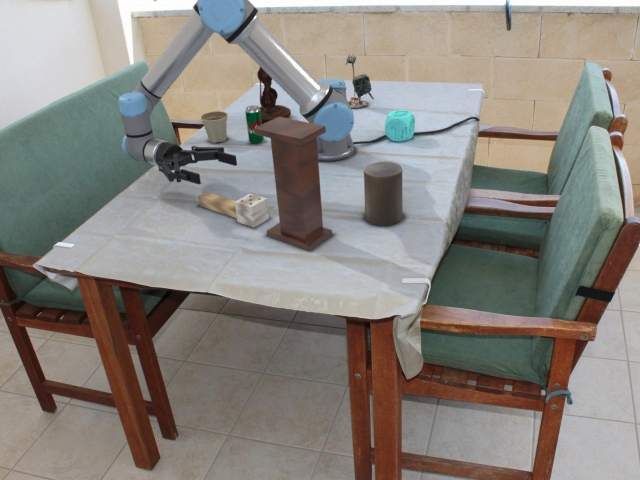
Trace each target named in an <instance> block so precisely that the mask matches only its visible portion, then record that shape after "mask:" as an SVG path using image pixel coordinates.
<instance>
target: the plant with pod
mask: <svg viewBox="0 0 640 480" xmlns="http://www.w3.org/2000/svg"><path fill="white" fill-rule="evenodd" d="M345 61H346V62H345V65H346V66H347V65H348V64H351V67H352V81H351V82H352V85H353V92H354V94H353V95H354V96H353V97H350V100H349V101H348V103H349V106H350V108H351V109H352V108H356V109H358V108H362V107H367V106H368V104H367V101H365V100H361V99H362V98H361V97H363V96H364V95H369V97H370V98H371V99H372V100H375V97H374V96H373V95H372V94H371V91H372V84H371V79H370V77H369V76H370V75H368V74H367V73H361V74H357V75H356V76H355V65H354V64H356V61H357V55H356V54H353V53H352V52H351V53H348V55H347V58H346V60H345ZM356 96H357V97H356Z"/></svg>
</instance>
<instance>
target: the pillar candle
mask: <svg viewBox="0 0 640 480" xmlns="http://www.w3.org/2000/svg"><path fill="white" fill-rule="evenodd" d="M363 185H364V186H363V187H364V189H363V190H364V217H365V220H366V221H367V222H368V223H370V225H373V226H379V227H380V226H382V227H384V226H394V225H396V224H398V223H399V222H401V221H402V220H403V215H404V214H403V167H402V165H401V164H399V163H397V162H394V161H376V162H372V163H369V164H366V165H365V166H364V168H363Z"/></svg>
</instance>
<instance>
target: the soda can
mask: <svg viewBox="0 0 640 480" xmlns="http://www.w3.org/2000/svg"><path fill="white" fill-rule="evenodd" d="M259 107H260V106H259V105H256V104H255V105H254V104H253V105H248V106H246V107H245V110H244V111H245V112H244V114H245V121H246V122H245V123H246V128H247V129H246V130H247V136H248V142H249V143H250V144H253V145H259V144H262V143H263V142H264V140H265V137H264V136H259V135H255V134H254V128H256V127H258V126H260V125H262V124H263V122H262V120H261V111H260V109H259Z"/></svg>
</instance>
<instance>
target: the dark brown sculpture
mask: <svg viewBox="0 0 640 480" xmlns="http://www.w3.org/2000/svg"><path fill="white" fill-rule="evenodd" d="M256 75H257V79H258V81H259V103H260V106H259V109H260V111H261V120H262V123H266V122H268V121H271V120H273V119H275V118H277V117H284V118H290V116H291V115H292V110H291V108H289V107H287V106H285V105H281V104H277V99H278V95H279V94H278V92H277V90H276V89H275V88H273V87H272V84H273V82H272V81H273V79H272V78H271V77H270V76H269V75H268V74H267V73H266V72H265V71H264V70H263V69H262V68H261V67H260V66H259V69H258V70H257V74H256ZM262 85H263V91H262Z"/></svg>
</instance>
